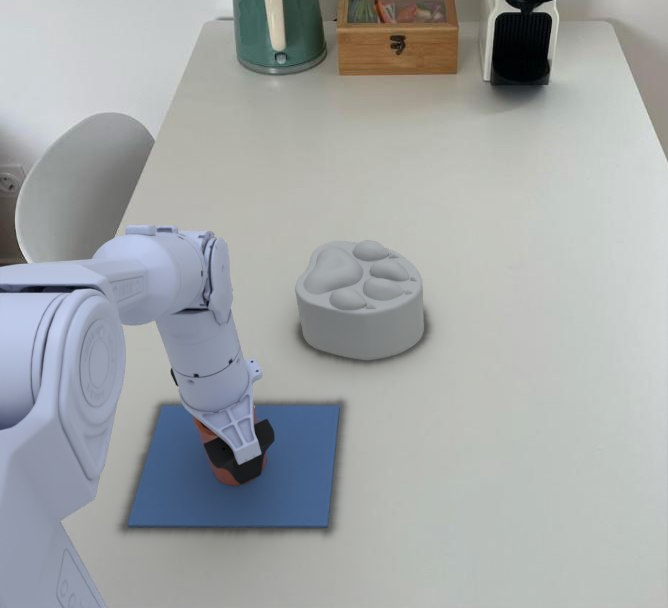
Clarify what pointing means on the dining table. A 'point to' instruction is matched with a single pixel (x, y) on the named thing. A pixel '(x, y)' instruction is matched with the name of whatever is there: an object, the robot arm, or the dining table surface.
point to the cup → (219, 473)
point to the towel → (248, 499)
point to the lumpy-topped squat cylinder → (360, 300)
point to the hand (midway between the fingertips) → (234, 445)
